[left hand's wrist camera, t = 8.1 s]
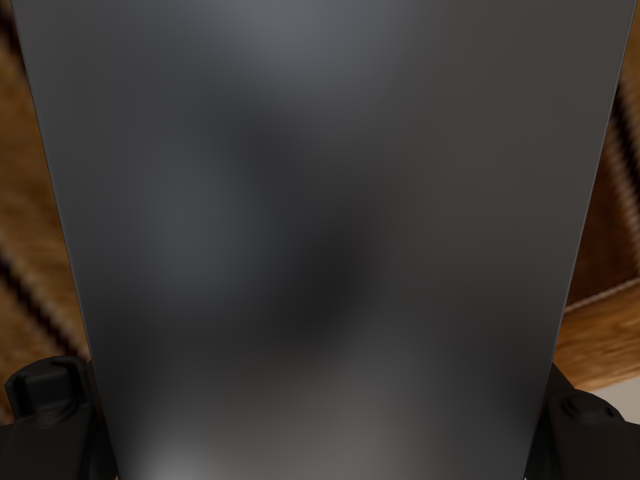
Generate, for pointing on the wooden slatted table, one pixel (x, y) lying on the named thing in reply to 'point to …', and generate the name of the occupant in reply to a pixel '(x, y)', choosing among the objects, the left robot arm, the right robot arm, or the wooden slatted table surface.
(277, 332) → the box
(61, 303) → the wooden slatted table surface
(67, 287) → the wooden slatted table surface
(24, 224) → the wooden slatted table surface
